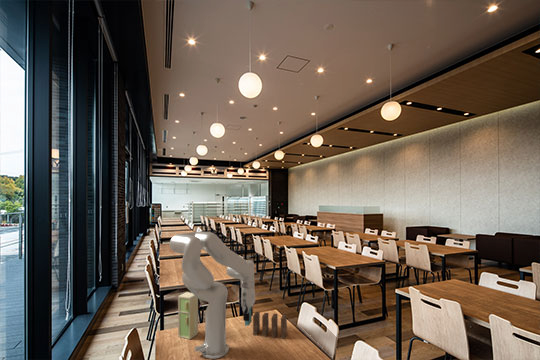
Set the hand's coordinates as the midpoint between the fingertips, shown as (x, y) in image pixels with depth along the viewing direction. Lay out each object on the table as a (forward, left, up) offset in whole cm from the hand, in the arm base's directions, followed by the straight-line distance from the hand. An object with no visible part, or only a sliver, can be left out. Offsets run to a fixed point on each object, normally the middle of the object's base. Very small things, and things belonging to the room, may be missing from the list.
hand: (248, 317), depth 145 cm
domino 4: (+10, -11, -7) cm, 17 cm away
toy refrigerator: (-29, +13, -8) cm, 33 cm away
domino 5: (+14, -14, -7) cm, 21 cm away
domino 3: (+7, -7, -7) cm, 12 cm away
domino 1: (0, 0, -3) cm, 3 cm away
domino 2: (+3, -4, -7) cm, 9 cm away
